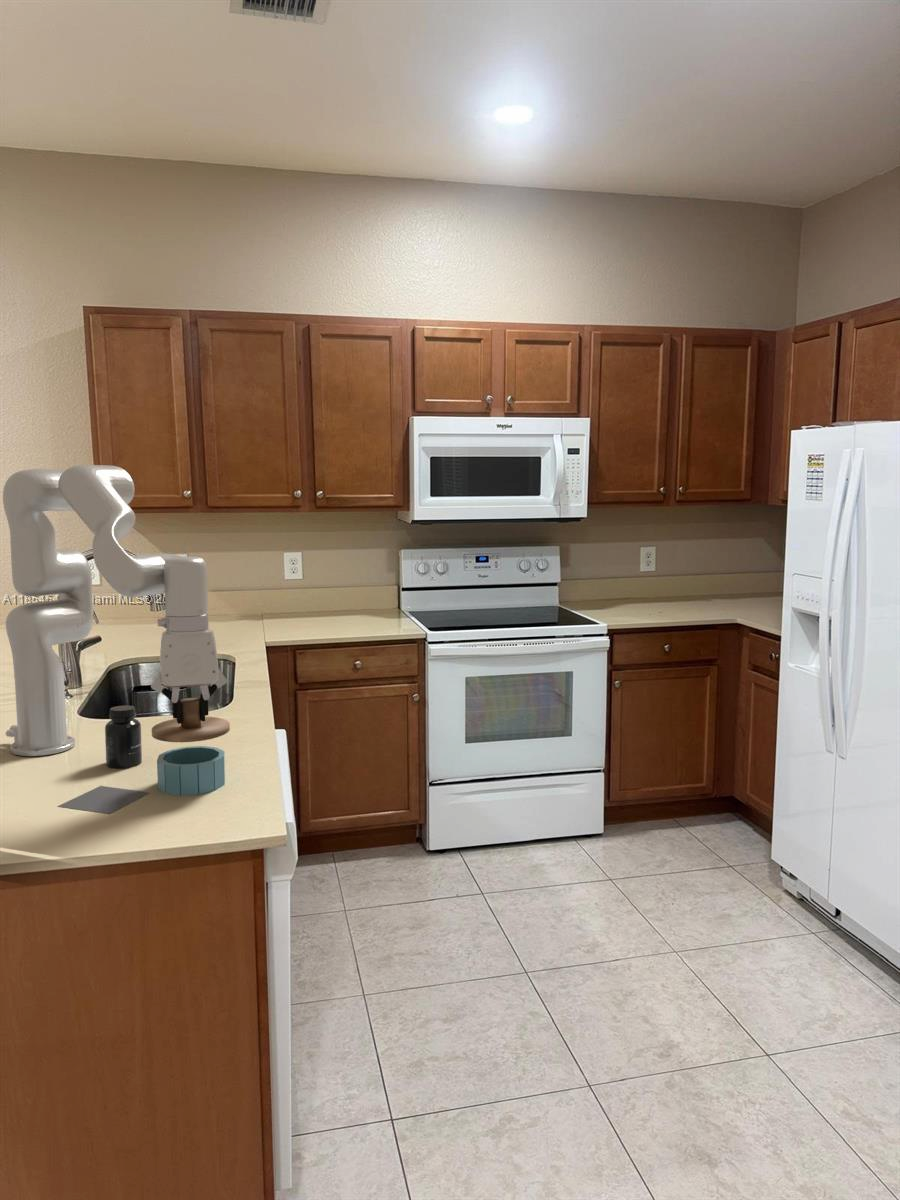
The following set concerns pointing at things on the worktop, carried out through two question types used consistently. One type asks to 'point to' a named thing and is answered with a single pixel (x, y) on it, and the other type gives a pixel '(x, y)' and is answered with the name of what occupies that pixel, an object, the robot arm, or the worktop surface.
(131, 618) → the worktop surface
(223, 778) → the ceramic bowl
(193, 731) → the walnut lid
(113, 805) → the rubber mat
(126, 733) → the supplement bottle
